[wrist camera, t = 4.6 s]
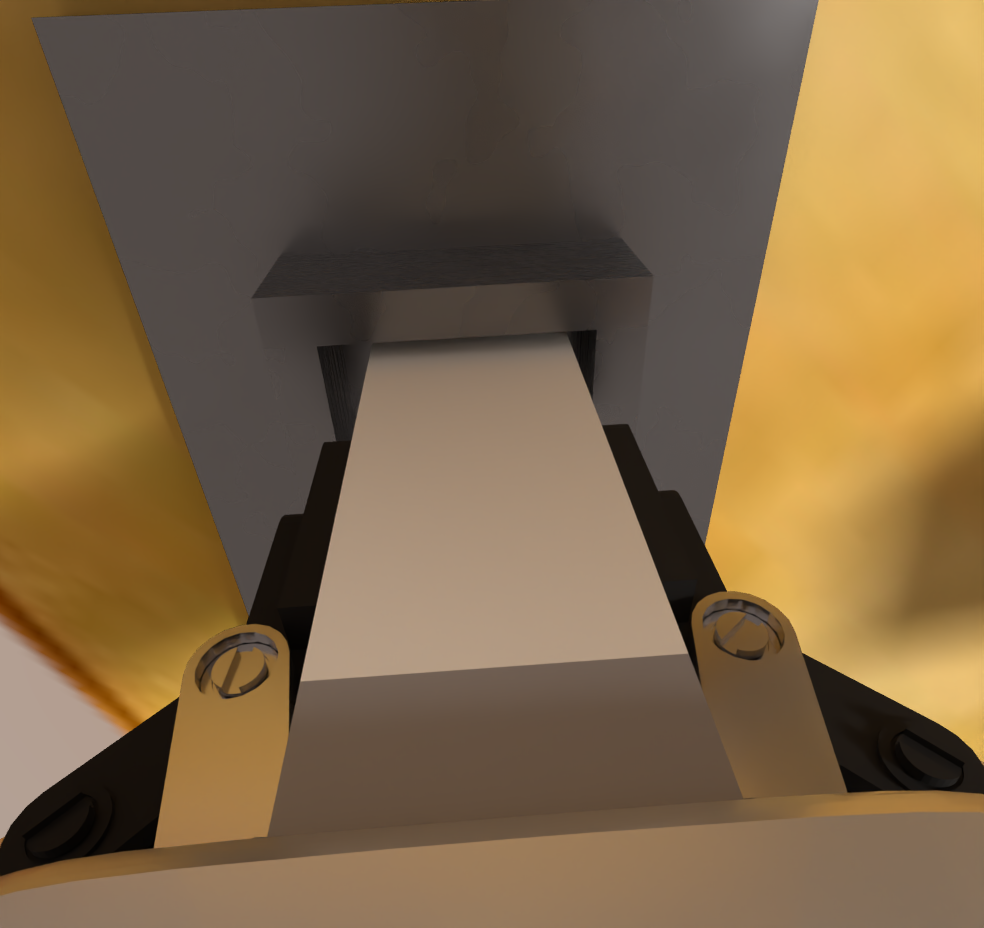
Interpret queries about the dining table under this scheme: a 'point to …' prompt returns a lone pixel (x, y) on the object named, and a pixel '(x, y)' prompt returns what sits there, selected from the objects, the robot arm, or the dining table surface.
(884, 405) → the dining table surface
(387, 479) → the plug
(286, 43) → the panel
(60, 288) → the dining table surface
